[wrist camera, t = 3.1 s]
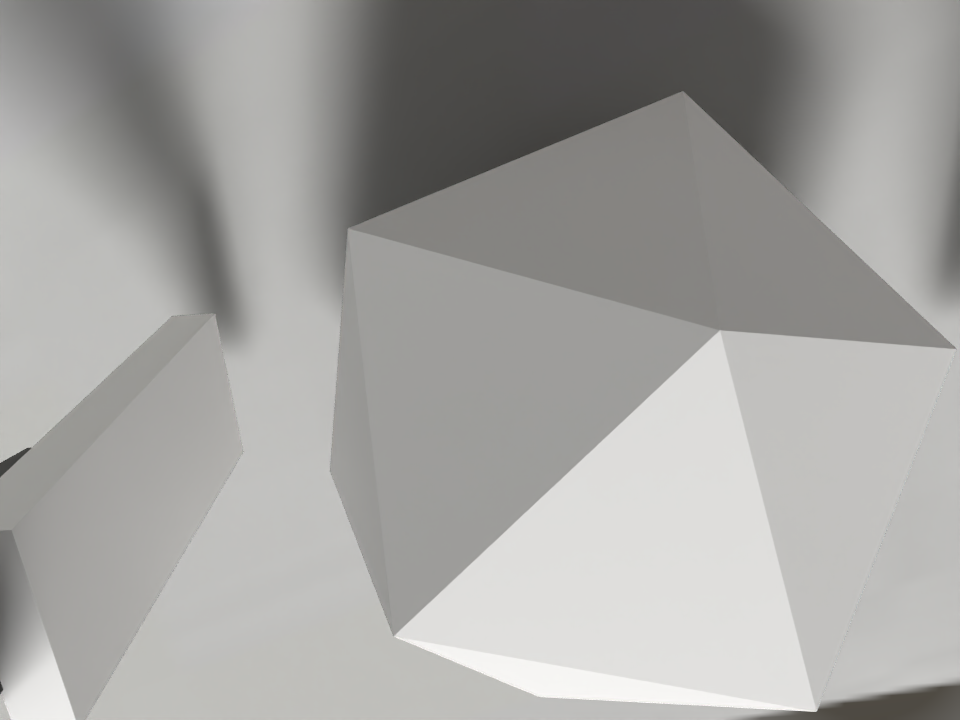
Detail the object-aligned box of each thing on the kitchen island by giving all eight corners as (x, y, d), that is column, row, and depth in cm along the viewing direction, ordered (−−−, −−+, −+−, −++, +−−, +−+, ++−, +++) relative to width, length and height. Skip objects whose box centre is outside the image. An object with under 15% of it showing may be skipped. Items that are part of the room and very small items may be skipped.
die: (324, 446, 18) (533, 927, 13) (161, 112, 12) (451, 817, 6) (651, 297, 20) (970, 667, 14) (674, -76, 13) (1297, 343, 8)
